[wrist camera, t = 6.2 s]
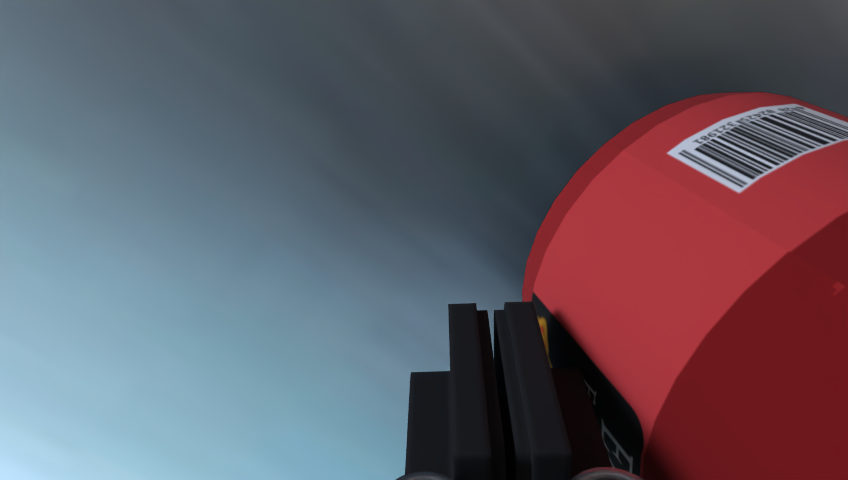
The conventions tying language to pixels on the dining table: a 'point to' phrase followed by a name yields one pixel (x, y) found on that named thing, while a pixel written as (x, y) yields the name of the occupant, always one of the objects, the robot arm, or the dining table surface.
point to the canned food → (707, 289)
